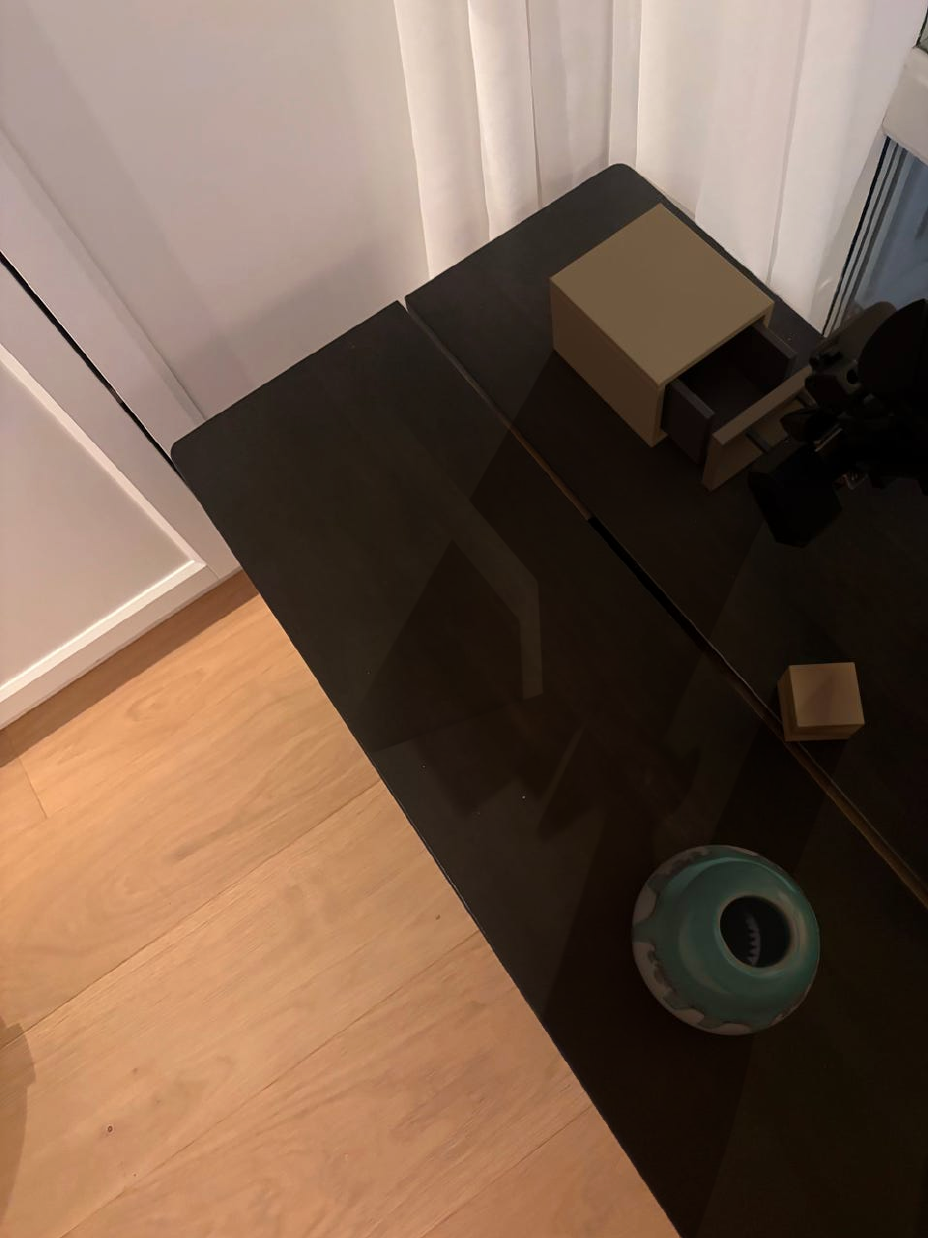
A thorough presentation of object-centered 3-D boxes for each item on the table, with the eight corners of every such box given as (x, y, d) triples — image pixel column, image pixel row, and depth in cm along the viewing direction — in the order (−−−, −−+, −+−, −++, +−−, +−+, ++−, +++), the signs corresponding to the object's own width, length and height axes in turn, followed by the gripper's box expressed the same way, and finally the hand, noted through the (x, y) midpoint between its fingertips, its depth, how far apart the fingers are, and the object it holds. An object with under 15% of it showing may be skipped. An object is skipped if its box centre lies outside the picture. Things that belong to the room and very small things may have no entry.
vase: (755, 831, 66) (811, 786, 49) (828, 997, 61) (917, 1009, 45) (604, 884, 66) (608, 857, 49) (666, 1054, 61) (694, 1087, 45)
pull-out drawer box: (848, 458, 74) (874, 408, 67) (750, 532, 73) (766, 488, 66) (706, 328, 80) (716, 269, 73) (613, 393, 79) (615, 340, 72)
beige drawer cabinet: (755, 372, 79) (775, 301, 71) (651, 447, 78) (658, 385, 69) (653, 278, 84) (660, 202, 75) (553, 348, 83) (548, 278, 74)
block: (838, 680, 69) (854, 662, 65) (848, 738, 67) (865, 723, 63) (776, 683, 69) (788, 665, 65) (785, 741, 68) (797, 727, 63)
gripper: (1032, 226, 53) (833, 254, 67) (805, 420, 50) (647, 407, 64) (1078, 387, 58) (883, 382, 71) (873, 573, 55) (712, 530, 69)
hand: (784, 422), depth 69 cm, fingers closed, pressing on pull-out drawer box
